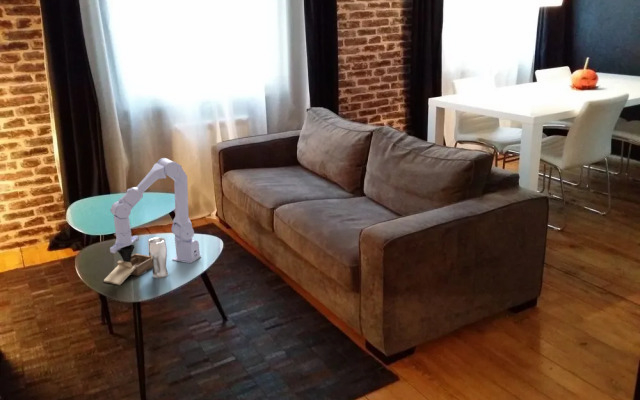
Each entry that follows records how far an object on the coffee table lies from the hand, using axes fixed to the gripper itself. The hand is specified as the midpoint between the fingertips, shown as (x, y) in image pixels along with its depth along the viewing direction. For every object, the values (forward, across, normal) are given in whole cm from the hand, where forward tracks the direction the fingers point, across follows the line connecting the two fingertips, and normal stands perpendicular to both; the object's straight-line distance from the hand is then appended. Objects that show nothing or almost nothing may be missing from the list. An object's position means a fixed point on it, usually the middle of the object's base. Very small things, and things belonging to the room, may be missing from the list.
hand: (127, 263), depth 244 cm
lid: (+3, +5, 0) cm, 6 cm away
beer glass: (+5, -4, +13) cm, 14 cm away
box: (+5, -5, 0) cm, 7 cm away
